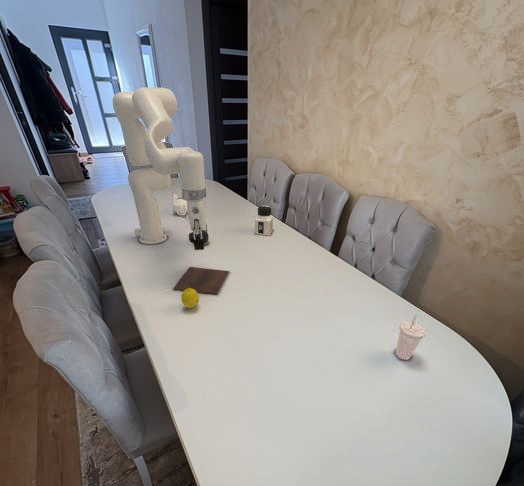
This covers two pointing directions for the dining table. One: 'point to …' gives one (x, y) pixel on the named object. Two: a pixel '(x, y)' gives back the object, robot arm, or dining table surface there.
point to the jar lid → (204, 236)
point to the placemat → (202, 280)
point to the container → (264, 221)
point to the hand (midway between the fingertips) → (199, 244)
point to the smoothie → (409, 338)
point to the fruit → (190, 298)
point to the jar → (207, 241)
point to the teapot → (179, 205)
